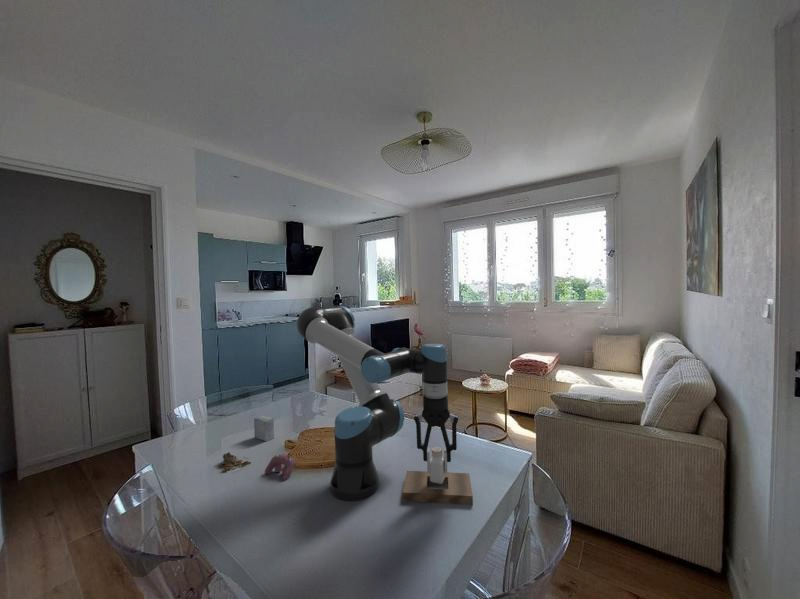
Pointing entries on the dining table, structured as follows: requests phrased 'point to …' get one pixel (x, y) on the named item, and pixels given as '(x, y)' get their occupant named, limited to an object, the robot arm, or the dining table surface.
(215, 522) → the dining table surface
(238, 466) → the frog figurine
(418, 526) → the dining table surface
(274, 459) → the video game controller
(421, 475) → the spice block
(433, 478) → the pepper shaker
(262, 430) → the medicine box
